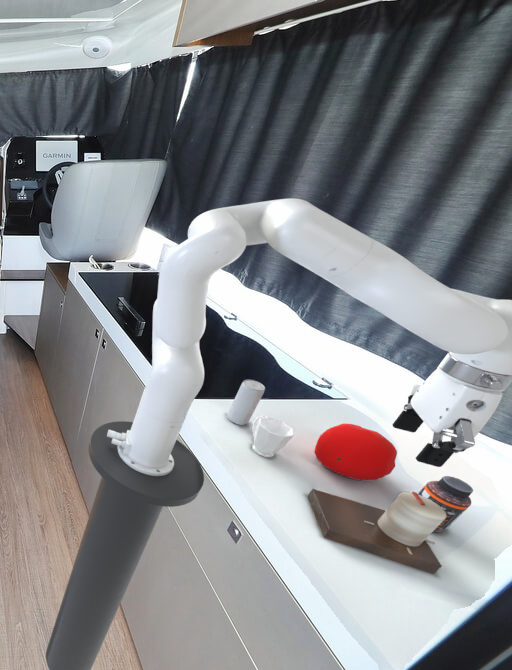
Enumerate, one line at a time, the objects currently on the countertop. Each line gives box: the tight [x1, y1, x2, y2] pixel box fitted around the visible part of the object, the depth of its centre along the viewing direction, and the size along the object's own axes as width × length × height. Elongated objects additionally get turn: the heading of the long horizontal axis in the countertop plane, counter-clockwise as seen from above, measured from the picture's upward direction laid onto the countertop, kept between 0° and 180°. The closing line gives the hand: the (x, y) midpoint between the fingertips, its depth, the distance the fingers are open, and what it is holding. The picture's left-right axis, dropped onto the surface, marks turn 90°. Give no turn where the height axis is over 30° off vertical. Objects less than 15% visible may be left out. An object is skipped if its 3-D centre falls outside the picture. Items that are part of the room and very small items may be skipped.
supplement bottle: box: [417, 475, 474, 533], centre depth 84 cm, size 6×6×11 cm
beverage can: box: [226, 379, 266, 426], centre depth 111 cm, size 5×5×12 cm
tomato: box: [314, 423, 398, 481], centre depth 96 cm, size 13×13×13 cm
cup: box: [251, 415, 295, 458], centre depth 103 cm, size 7×10×8 cm
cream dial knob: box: [378, 491, 446, 547], centre depth 80 cm, size 6×6×8 cm
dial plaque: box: [307, 488, 443, 575], centre depth 84 cm, size 17×11×3 cm, turn 63°
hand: (414, 445), depth 78 cm, fingers open, 9 cm apart
